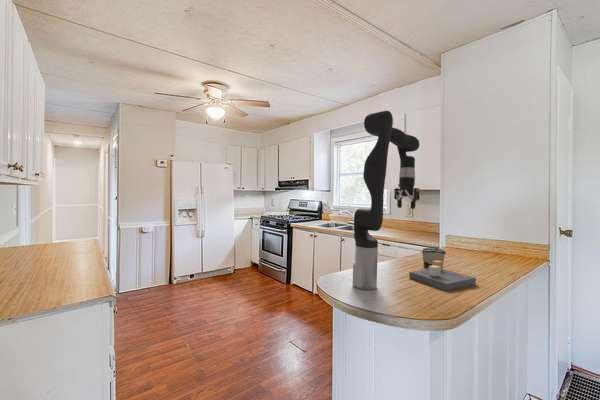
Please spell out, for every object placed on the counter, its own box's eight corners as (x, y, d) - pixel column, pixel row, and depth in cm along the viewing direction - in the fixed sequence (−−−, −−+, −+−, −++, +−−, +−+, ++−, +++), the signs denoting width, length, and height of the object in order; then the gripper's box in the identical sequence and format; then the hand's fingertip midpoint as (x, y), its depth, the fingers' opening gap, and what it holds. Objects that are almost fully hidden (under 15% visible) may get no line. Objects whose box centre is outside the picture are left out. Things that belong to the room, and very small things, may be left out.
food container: (440, 266, 154) (441, 248, 154) (445, 269, 148) (446, 250, 148) (417, 265, 156) (418, 247, 155) (421, 268, 150) (422, 249, 149)
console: (446, 291, 114) (446, 283, 114) (409, 278, 131) (409, 271, 131) (475, 284, 123) (475, 277, 123) (437, 273, 140) (437, 267, 140)
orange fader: (437, 270, 132) (437, 262, 132) (431, 269, 135) (431, 260, 135) (442, 269, 134) (442, 261, 134) (437, 268, 137) (437, 260, 137)
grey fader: (434, 276, 122) (434, 267, 122) (428, 274, 125) (428, 266, 125) (440, 275, 124) (440, 266, 124) (434, 273, 127) (434, 265, 127)
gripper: (391, 177, 148) (390, 207, 148) (413, 175, 135) (412, 209, 135) (401, 177, 151) (400, 207, 151) (423, 176, 138) (422, 209, 139)
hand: (406, 208), depth 143 cm, fingers open, 8 cm apart
